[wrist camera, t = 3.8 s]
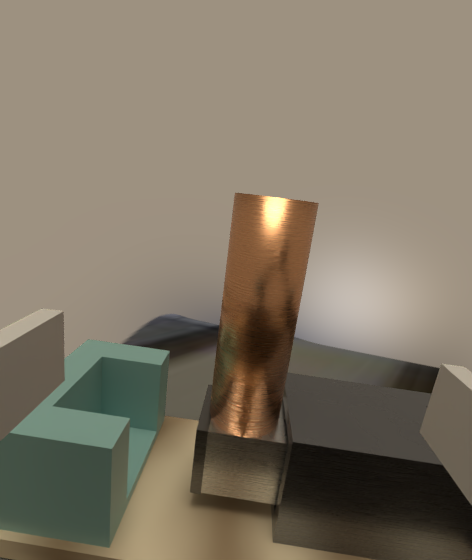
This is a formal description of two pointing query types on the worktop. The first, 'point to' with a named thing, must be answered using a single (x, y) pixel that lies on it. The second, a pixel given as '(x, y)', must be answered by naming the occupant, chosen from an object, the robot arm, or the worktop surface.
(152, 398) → the socket
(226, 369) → the slip bolt
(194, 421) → the base board
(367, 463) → the sleeve
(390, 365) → the worktop surface
